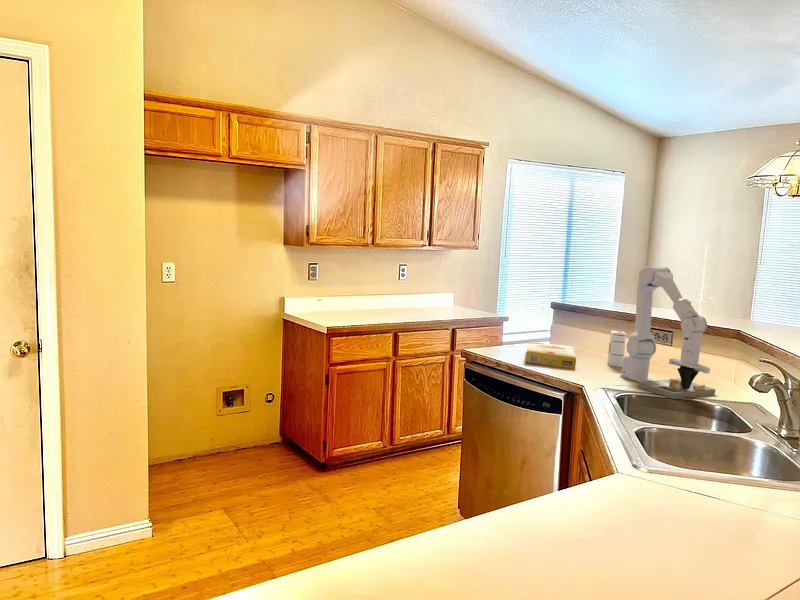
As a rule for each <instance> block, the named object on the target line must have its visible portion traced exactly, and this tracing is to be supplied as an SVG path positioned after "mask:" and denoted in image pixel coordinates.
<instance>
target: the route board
mask: <svg viewBox="0 0 800 600" xmlns="http://www.w3.org/2000/svg"><path fill="white" fill-rule="evenodd" d="M637 383H638V384H637V388H638V389H641V388H642V389H641V390H644V389H645V390H644V391H647V390H648V391H647V392H650V391H651V392H650V393H653V392H654V393H653V394H656V393H658V394H657V395H660V394H661V396H663V395H664V396H663V397H666V398H670V399H672V400H678V399H686V398H685V397H688V398H695V397H696V396H697V397H703V396H704V397H705V395H706V396H713V395H714V394H715V395H716V388H713V387H709V386H706V385H705V384H698V383H694V382H692V383H691V386H690V388H689V389H675V388H672V387H669V383H670V379H660V380H653V381H645V382H637Z"/></svg>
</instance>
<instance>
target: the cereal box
mask: <svg viewBox="0 0 800 600" xmlns="http://www.w3.org/2000/svg"><path fill="white" fill-rule="evenodd" d="M524 361H525V363H529V364H536V365H540V366H541V365H542V366H548V367H549V366H550V367H555V368H556V367H557V368H562V367H563V369H572V370H575V369H576V363H577V358H576V353H575V349H574V347H573V346H568V345H560V344H554V343H543V342H535V341H528V343H527V349H526V354H525V360H524Z"/></svg>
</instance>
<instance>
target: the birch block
mask: <svg viewBox="0 0 800 600" xmlns="http://www.w3.org/2000/svg"><path fill="white" fill-rule="evenodd" d="M669 380H670V383H669V387H672V388H675V389H683V388H682V381H681V377H672V378H671V377H670V378H669Z"/></svg>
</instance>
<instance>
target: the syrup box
mask: <svg viewBox="0 0 800 600" xmlns="http://www.w3.org/2000/svg"><path fill="white" fill-rule="evenodd" d="M626 336H627V333H625V332H624V331H622V330H610V334H609V343H608V352H607V353H608V354H607V364H608V365H609V366H610V367H618V368H622V363H623V359H624V357H625V348H626V339H627V337H626Z"/></svg>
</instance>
